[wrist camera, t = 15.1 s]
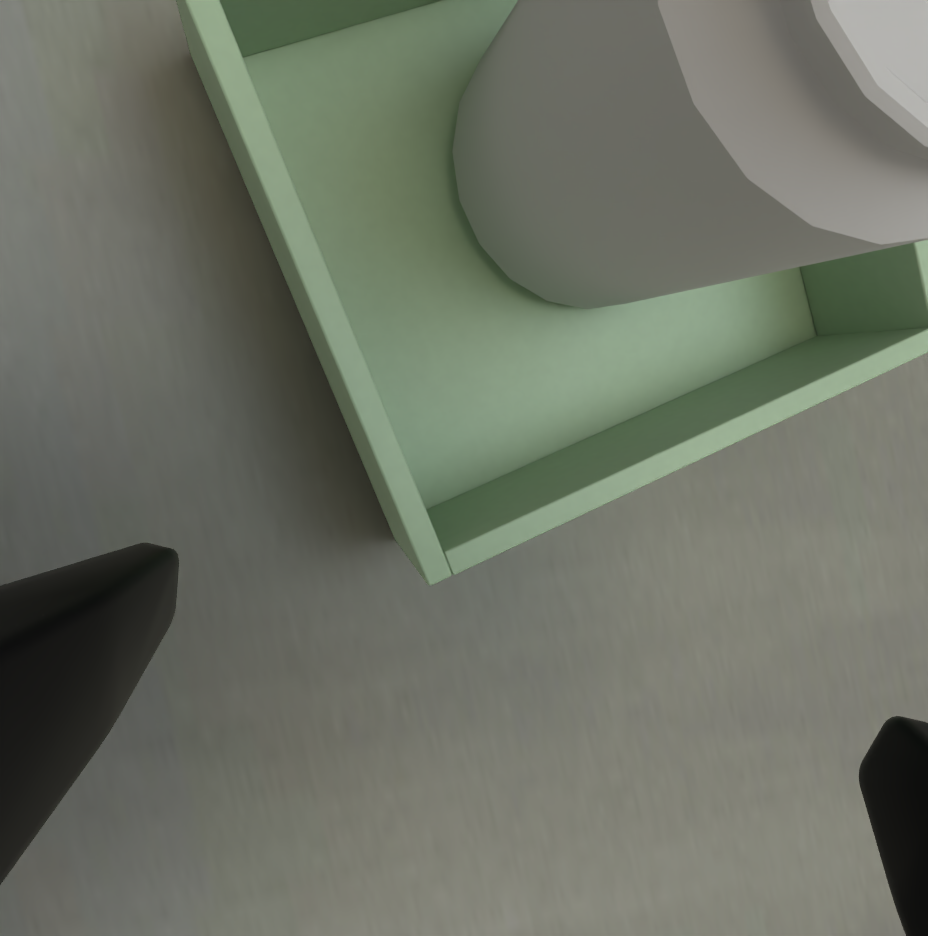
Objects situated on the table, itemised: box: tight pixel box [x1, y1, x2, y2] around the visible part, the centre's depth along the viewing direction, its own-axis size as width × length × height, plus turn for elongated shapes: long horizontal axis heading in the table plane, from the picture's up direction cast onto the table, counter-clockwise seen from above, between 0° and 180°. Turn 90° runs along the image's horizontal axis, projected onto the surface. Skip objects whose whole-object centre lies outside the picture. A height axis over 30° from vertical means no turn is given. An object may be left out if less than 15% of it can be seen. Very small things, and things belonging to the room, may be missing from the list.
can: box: [452, 0, 928, 309], centre depth 13 cm, size 8×8×12 cm
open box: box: [176, 0, 928, 586], centre depth 17 cm, size 15×13×4 cm
